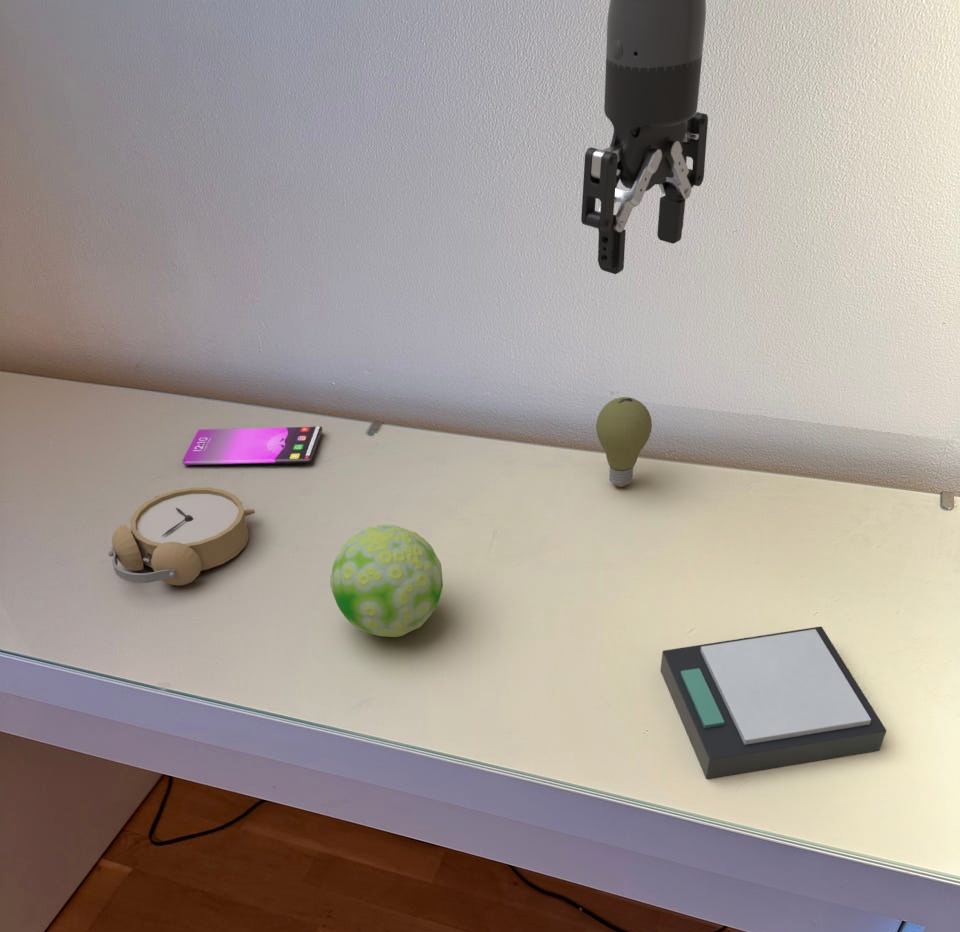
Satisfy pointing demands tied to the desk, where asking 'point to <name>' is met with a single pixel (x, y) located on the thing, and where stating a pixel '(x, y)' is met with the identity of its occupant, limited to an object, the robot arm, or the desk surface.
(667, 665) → the scale
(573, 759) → the desk surface
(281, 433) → the smartphone
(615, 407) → the light bulb
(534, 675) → the desk surface
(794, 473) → the desk surface
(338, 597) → the decorative ball
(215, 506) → the alarm clock
